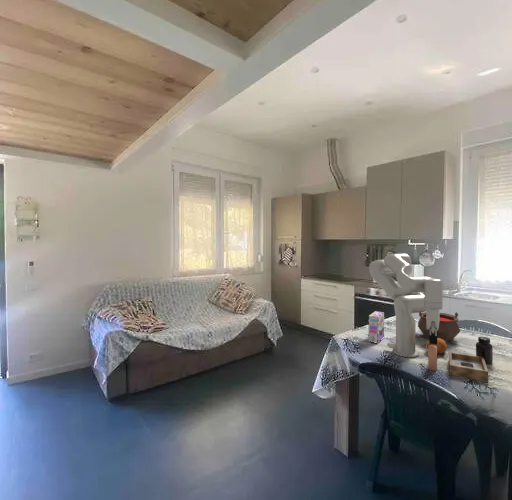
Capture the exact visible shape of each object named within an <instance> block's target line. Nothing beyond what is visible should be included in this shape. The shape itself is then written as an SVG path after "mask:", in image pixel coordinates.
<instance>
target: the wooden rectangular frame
mask: <svg viewBox="0 0 512 500" xmlns="http://www.w3.org/2000/svg"><path fill="white" fill-rule="evenodd" d="M448 362H449V363H448V364H449V365H448V367H449V375H450V376H454V377H460V378H466V379H472V380H475V379H476V381H480V382H481V381H482V382H486V381H488V382H489V370H488V367H487V364H486V363H485V360H484V358H483V357H479V356H476V355H471V354H465V353H464V354H463V353H460V352H459V353H458V352H452V351H449V352H448Z"/></svg>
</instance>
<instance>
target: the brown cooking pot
mask: <svg viewBox="0 0 512 500" xmlns="http://www.w3.org/2000/svg"><path fill="white" fill-rule="evenodd" d="M426 312H427V311H425V312H420V313H418V316H419V320H418V322H417V328H418V329H419V330H420V332H421V334H423V336H424V338H426V339H428V340H429V335H430V329H428V330H427V329H426ZM458 316H459V314H458V312H457V311H456V312H455V313H454V315H453V314H449V313H446V312H440V318H439V329H438V338H440V339H443V340H444V341H445V342H446V343H447V342H452V341H453V340H455V338H456V337H457V336H458V335H459V333H461V329H460V327H459V324H458V323H457V322H458V321H459V317H458Z"/></svg>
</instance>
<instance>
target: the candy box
mask: <svg viewBox="0 0 512 500" xmlns="http://www.w3.org/2000/svg"><path fill="white" fill-rule="evenodd" d="M383 337H384V338H385V312H382V311H377V310H374V312H372V313H371V314H369V315H368V339H367V341H371V342H376V343H379V344H380V342H381V341H382V340H383V339H384V338H383ZM382 338H383V339H382ZM381 339H382V340H381ZM380 340H381V341H380ZM371 342H370V343H371Z"/></svg>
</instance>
